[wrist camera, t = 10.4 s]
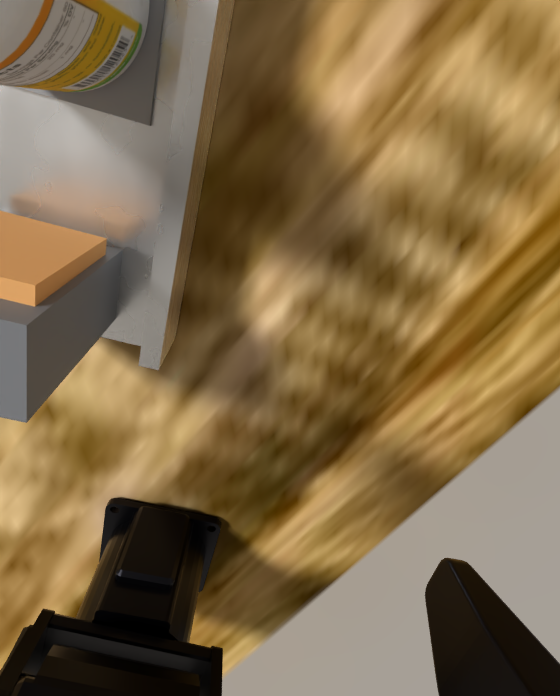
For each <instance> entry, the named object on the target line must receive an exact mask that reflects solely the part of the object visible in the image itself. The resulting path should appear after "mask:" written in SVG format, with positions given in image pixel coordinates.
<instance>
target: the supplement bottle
mask: <svg viewBox="0 0 560 696" xmlns="http://www.w3.org/2000/svg"><path fill="white" fill-rule="evenodd" d="M148 17H149V0H0V85H4V86H15V87H22V88H33V89H42V90H52V91H62V92H84V91H89V90H94V89H97V88H100V87H102V86H105V85H107V84H109V83H110V82H112V81H113V80H115V79H116V78H118V77H119V76H120V75H121V74H122V73H123V72H124V71H125V70H126V69H127V68H128V67H129V66H130V64H131V63H132V62H133V60H134V59H135V57H136V56H137V54H138V52H139V49H140V47H141V45H142V42H143V39H144V37H145V33H146V29H147V24H148Z"/></svg>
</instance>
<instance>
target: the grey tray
mask: <svg viewBox="0 0 560 696" xmlns="http://www.w3.org/2000/svg"><path fill="white" fill-rule="evenodd" d="M234 3H235V0H149V17H148V24H147V29H146V33H145V37H144V39H143V42H142V45H141V47H140V49H139V52H138V54H137V56H136V57H135V59H134V60H133V62H132V63H131V64H130V66H129V67H128V68H127V69H126V70H125V71H124V72H123V73H122V74H121V75H120V76H119V77H118V78H116V79H115V80H113V81H112V82H110V83H109V84H107V85H105V86H102V87H100V88H97V89H94V90H89V91H84V92H62V91H52V90H42V89H33V88H22V87H15V86H4V85H0V417H2V418H7V419H11V420H16V421H21V422H26V423H27V422H28V420H29V419H30V418H31V417H32V416H33V415H34V413H35V412H36V411H37V410H38V409H39V408H40V406H41V405H42V404H43V403H44V402H45V401H46V399H47V398H48V397H49V396H50V395H51V394H52V393H53V391H54V390H55V389H56V388H57V387H58V386H59V384H60V383H61V382H62V381H63V380H64V379H65V377H66V376H67V375H68V374H69V373H70V372H71V370H72V369H73V368H74V367H75V366H76V365H77V363H78V362H79V361H80V360H81V359H82V358H83V356H84V355H85V354H86V353H87V352H88V351H89V350H90V348H91V347H92V346H93V345H94V344H95V343H96V341H97V340H98V339H99V338H100V337H104V338H108V339H112V340H116V341H121V342H125V343H129V344H133V345H137V346H141V351H140V358H139V366H142V367H146V368H151V369H155V370H159V369H160V367H161V365H162V363H163V361H164V359H165V357H166V355H167V353H168V351H169V349H170V347H171V345H172V343H173V341H174V339H175V337H176V332H177V326H178V320H179V315H180V309H181V303H182V298H183V292H184V286H185V281H186V275H187V269H188V264H189V258H190V252H191V247H192V241H193V235H194V230H195V224H196V218H197V213H198V207H199V201H200V196H201V190H202V184H203V179H204V173H205V167H206V162H207V156H208V151H209V145H210V139H211V134H212V128H213V122H214V117H215V111H216V105H217V100H218V94H219V88H220V83H221V77H222V71H223V66H224V60H225V54H226V49H227V43H228V37H229V32H230V26H231V20H232V15H233V9H234Z"/></svg>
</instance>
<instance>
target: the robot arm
mask: <svg viewBox="0 0 560 696" xmlns="http://www.w3.org/2000/svg"><path fill="white" fill-rule="evenodd" d="M116 507H117V508H116ZM220 528H221V522H220V520H219V519H217V518H215V517H210V516H205V515H200V514H195V513H190V512H185V511H180V510H175V509H170V508H165V507H160V506H155V505H149V504H144V503H139V502H134V501H129V500H124V499H119V498H113V499H111V500H109V502H108V504H107V506H106V510H105V518H104V527H103V535H102V544H101V552H100V561H99V564H98V567H97V569H96V571H95V574H94V576H93V578H92V581H91V583H90V586H89V588H88V590H87V593H86V595H85V597H84V600H83V602H82V604H81V607H80V609H79V611H78V614H77V616H76V618H73V617H69V616H64V615H60V614H55V611H52V610H48V609H43V610H42V611H41V613H40V615H39V616H38V618H37V620H36V622H35V623H34V625H30V626H29V627H25V628H23V630H22V632H21V634H20V636H19V638H18V640H17V642H16V644H15V646H14V648H13V650H12V651H11V653H10V655H9V657H8V659H7V661H6V662H5V664H4V666H3V667H2V669H1V670H0V696H222V658H223V648H220V647H215V646H211V648H209V647H205V646H200V645H196V644H191V643H189V640H190V635H191V630H192V624H193V619H194V613H195V608H196V603H197V597H198V592H200V591H202V589H203V587H204V583H205V580H206V576H207V573H208V570H209V566H210V563H211V560H212V556H213V553H214V549H215V546H216V543H217V539H218V536H219V533H220ZM425 599H426V607H427V614H428V622H429V629H430V636H431V644H432V652H433V659H434V667H435V674H436V680H437V687H438V692H439V696H560V664H559V662H558V661H557V660H556V659H555V658H554V657H553V656H552V655H551V654H550V652H549V651H548V650H547V649H546V648H545V647H544V646H543V645H542V644H541V643H540V641H539V640H538V639H537V638H536V637H535V636H534V635H533V634H532V633H531V632H530V631H529V629H528V628H527V627H526V626H525V625H524V624H523V623H522V622H521V621H520V620H519V618H518V617H517V616H516V615H515V614H514V613H513V612H512V611H511V610H510V608H509V607H508V606H507V605H506V604H505V603H504V602H503V601H502V600H501V599H500V597H499V596H498V595H497V594H496V593H495V592H494V591H493V590H492V589H491V588H490V586H489V585H488V584H487V583H486V582H485V581H484V580H483V579H482V578H481V577H480V575H479V574H478V573H477V572H476V571H475V570H474V569H473V568H472V567H471V566H470V565H469V564H468V563H467V562H465V561H462V560H457V559H451V558H444V559H443V560H441V562H440V563H439V565H438V567H437V568H436V570H435V572H434V573H433V575H432V577H431V579H430V581H429V582H428V584H427V587H426V592H425Z"/></svg>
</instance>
